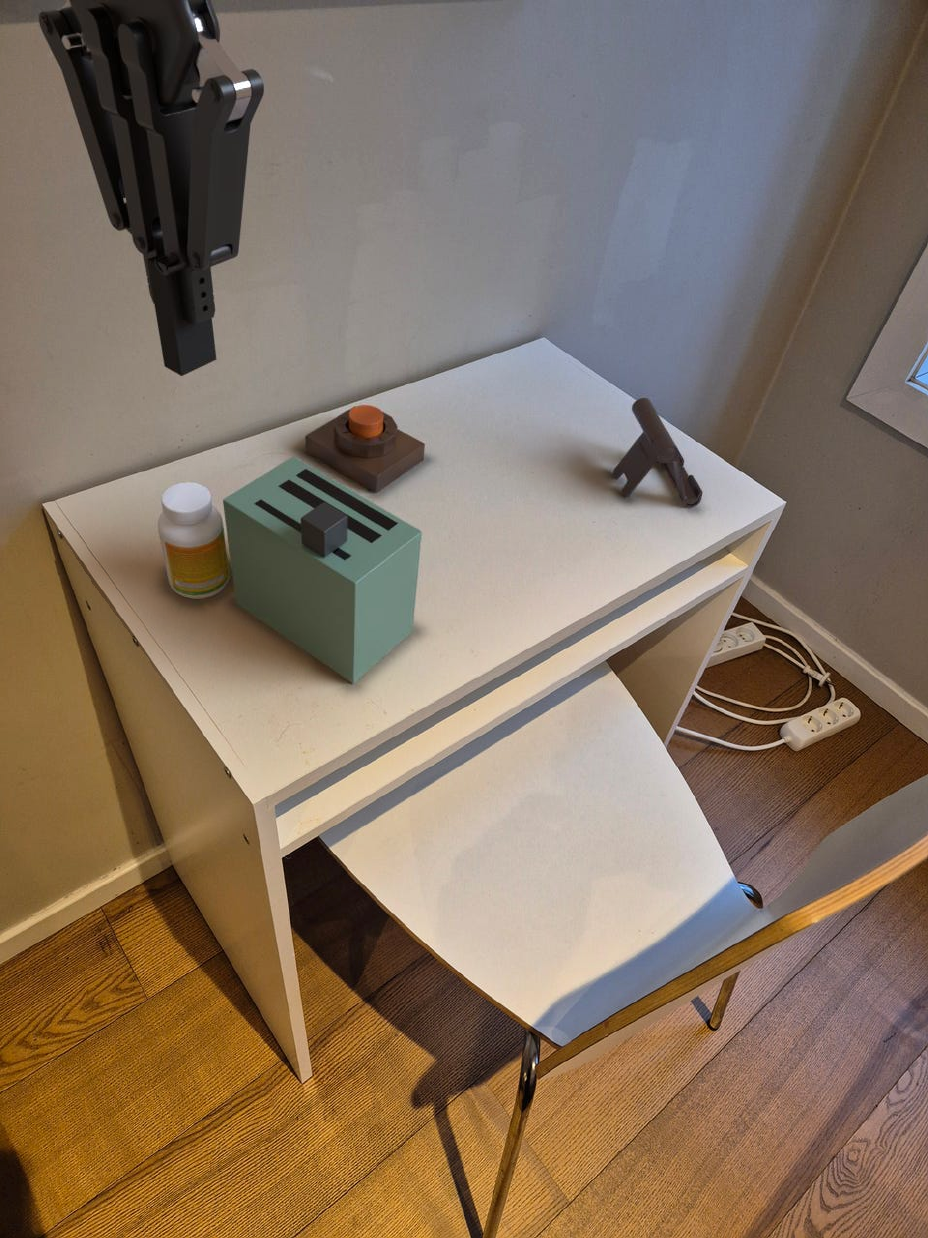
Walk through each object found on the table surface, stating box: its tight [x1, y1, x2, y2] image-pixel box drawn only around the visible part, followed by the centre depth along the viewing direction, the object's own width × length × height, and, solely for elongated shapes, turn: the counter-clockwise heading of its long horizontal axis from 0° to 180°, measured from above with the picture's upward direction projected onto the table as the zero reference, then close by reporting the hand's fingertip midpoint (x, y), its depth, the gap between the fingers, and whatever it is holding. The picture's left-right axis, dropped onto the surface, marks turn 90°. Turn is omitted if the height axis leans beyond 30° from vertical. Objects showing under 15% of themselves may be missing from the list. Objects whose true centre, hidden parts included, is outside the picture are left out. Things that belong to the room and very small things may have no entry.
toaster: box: [222, 456, 423, 685], centre depth 73 cm, size 14×8×12 cm, turn 53°
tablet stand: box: [612, 397, 704, 509], centre depth 93 cm, size 9×8×8 cm
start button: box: [349, 404, 383, 438], centre depth 90 cm, size 4×4×2 cm
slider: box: [301, 502, 347, 557], centre depth 65 cm, size 2×3×3 cm
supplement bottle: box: [157, 481, 231, 600], centre depth 75 cm, size 5×5×10 cm
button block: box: [304, 405, 426, 494], centre depth 92 cm, size 10×8×4 cm
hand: (190, 362), depth 52 cm, fingers closed
